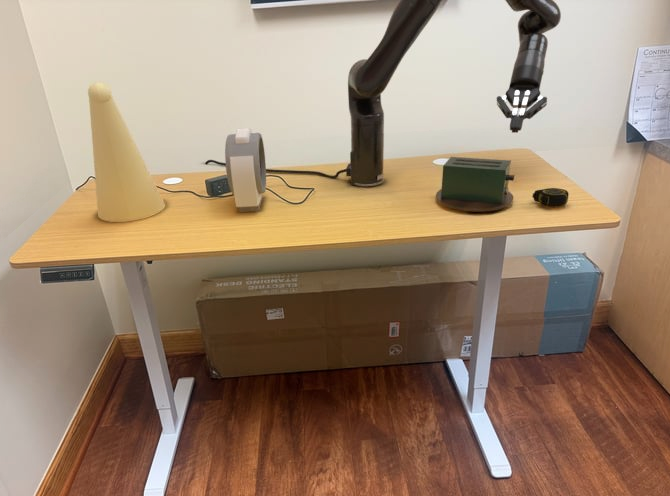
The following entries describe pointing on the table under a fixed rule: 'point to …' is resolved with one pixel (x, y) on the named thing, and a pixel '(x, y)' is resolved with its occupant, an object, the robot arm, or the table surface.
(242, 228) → the table surface
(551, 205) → the tape measure
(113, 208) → the cone light
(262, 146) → the alarm clock
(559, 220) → the table surface
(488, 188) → the toaster
